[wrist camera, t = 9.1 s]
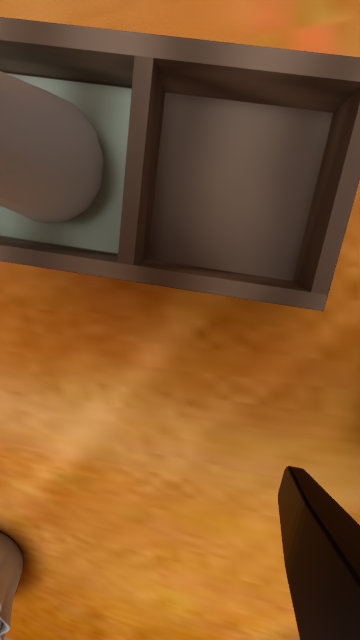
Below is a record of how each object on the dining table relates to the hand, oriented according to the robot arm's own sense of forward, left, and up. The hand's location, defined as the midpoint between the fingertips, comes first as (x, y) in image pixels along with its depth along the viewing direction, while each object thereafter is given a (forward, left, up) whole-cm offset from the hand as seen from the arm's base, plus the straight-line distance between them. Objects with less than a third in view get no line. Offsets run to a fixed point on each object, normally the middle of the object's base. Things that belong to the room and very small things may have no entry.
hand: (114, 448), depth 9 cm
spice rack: (+7, -8, -13) cm, 17 cm away
